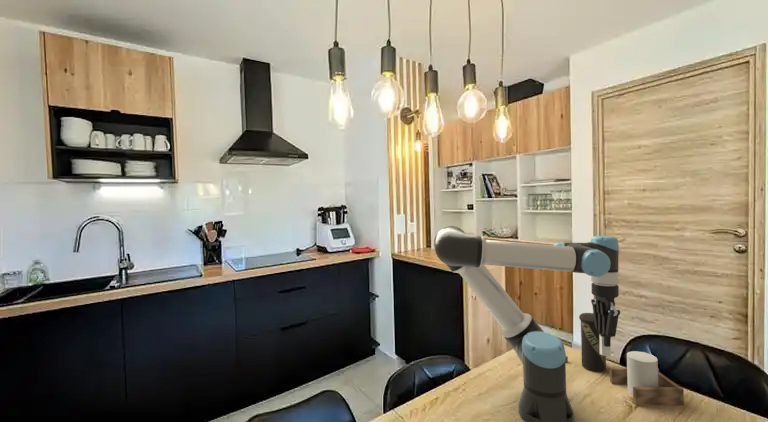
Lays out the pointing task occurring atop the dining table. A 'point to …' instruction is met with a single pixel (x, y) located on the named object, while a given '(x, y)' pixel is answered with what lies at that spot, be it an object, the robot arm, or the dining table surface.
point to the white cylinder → (641, 370)
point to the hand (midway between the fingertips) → (605, 354)
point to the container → (591, 344)
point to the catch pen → (651, 390)
